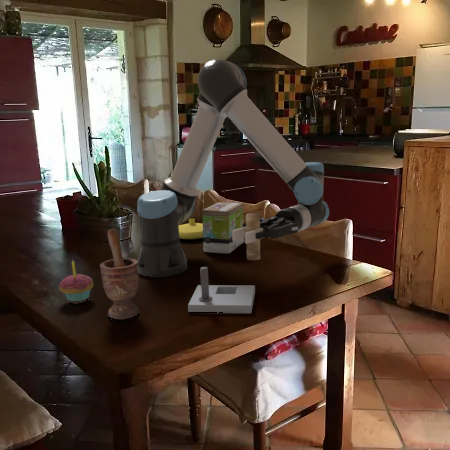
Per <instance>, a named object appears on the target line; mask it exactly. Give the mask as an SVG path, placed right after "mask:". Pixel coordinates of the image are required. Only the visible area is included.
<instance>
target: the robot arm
mask: <svg viewBox="0 0 450 450" xmlns="http://www.w3.org/2000/svg"><path fill="white" fill-rule="evenodd" d="M197 85H198V90H199V94H198V96H197V98H196V100H197V104H198V109H197V111H196V114H195V116H194V118H193V121H192V125H191V127H190V129H189V131H188V134H187V136H186V139H185V141H184V144H183V146H182V149H181V151H180V154H179V156H178V158H177V161H176V163H175V166H174V168H173V171H172V173H171V175H170V176H169V177H167V178H165V179H164V180H163V182H162V184H161V187H160V190H151V191H150V192H145V193H144V194H141V195H139V197H138V199H137V206H136V207H137V208H136V211H137V215H138V216H137V217H138V226H139V235H140V236H139V238H140V249H139V255H138V258H137V261H138V273H139V274H138V275H140V274H141V275H140V276H142V275H143V276H142V277H146V276H149V277H148V278H169V277H173V276H176V275H179V274H182V273H184V272H185V271H186V270H187V269H188V261H187V258H186V255H185V253H184V250H183V247H182V246H181V245H182V244H181V242H180V239H181V238H179V225H183V223H185V222H186V221H189V219H191V218H190V217H191V216H192V215H193V214H194V210H195V206H196V204H195V203H196V200H197V199H198V196H199V192H198V189H197V186H198V183H199V181H200V178H201V176H202V174H203V171H204V169H205V167H206V165H207V163H208V159H209V157H210V155H211V153H212V151H213V148H214V145H215V143H216V141H217V139H218V136H219V133H220V131H221V129H222V127H223V124H224V122H225V119H226V118H228V119H230V120H231V122H232V123H233V125H235V127H236V128H237V129H238V130H239V131H240V132H241V133H242V134H243V135H244V137H245V138H246V139H247V140H248V141H249V142H250V144H251V145H252V146H253V147H254V148H255V149H256V150H257V152H258V153H259V154H260V155H261V156H262V157H263V158H264V160H265V161H266V162H267V163H268V164H269V166H271V167H272V169H273V170H274V171H275V172H276V173H277V174H278V175H279V176H280V178H281V179H282V180H283V181H284V182H285V183H286V184H287V186H288V187H289V188H290V189H291V191H292V192H293V194H294V197H295V198H296V200H297V203H298V204H297V205H293V206H289V207H286V208H284V209H283V208H282V209H280V210H278V211H277V212H276V214H275V215H274V216H271V217H269V218H265V219H264V217H263V216H260V228H259V229H256V230H253V231H249V232H246V222H243V227H242V228H239V229H235V230H232V241H236V240H239V239H242V238H244V244H245V245H247V244H248V243H251V242H254V241H257V240H260V241H261V240H262V239H269V238H270V239H273V240H275V239H278V238H281V237H284V236H285V237H286V236H291V235H293V234H297V233H300V232H301V231H303V230H306V229H309V228H311V227H316V226H318V225H321V224H322V223H324V222H326V221H327V220H328V218H329V216H330V208H329V206H328V203H327V202H325V201H324V186H325V185H324V181H325V180H324V179H325V169H324V168H325V167H324V164H323V163H322V162H316V161H315V162H314V161H311V162H309V161H307V162H305V161H304V160H303V159H302V158H301V156H300V155H299V154H298V153H297V151H295V150H294V148H293V147H292V146H291V145H290V144H289V143H288V142H287V140H286V139H285V138H284V136H282V134H281V133H280V132H279V131H278V130H277V129H276V128H275V126H274V125H273V124H272V122H270V121H269V120H268V118H267V117H266V116H265V115H264V114H263V113H262V112H261V110H260V109H259V108H258V107H257V106H256V105H255V103H254V102H253V101H252V100H251V99H250V98H249V97H248V89H247V78H246V75H245V72H244V71H243V69H242V68H241V67H240V66H238V65H237V64H235V63H233V62H231V61H228V60H225V59H221V58H216V59H211V60H209V61H207V62H206V63H205V64H203V66H201V68H200V71H199V72H198V76H197Z"/></svg>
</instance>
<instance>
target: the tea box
mask: <svg viewBox="0 0 450 450" xmlns="http://www.w3.org/2000/svg"><path fill="white" fill-rule="evenodd" d="M201 216H202V224H203V238H202V245H203V246H202V247H203V252H205V253H215V254H216V253H217V254H227V255H228V254H231V253H232V252H233V251H234V250H236V249H237V248H238V247H239V246H240V245H242V244H243V243H245V238H242V239H239V240H236V241H232V230H235V229H239V228H242V227H243V223H244V203H243V202H223V201H222V202H221V201H220V202H219V201H218V202H216V203H213V204H211V205H210V206H208V207H205V208H203V209H202V215H201Z"/></svg>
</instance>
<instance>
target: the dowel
mask: <svg viewBox="0 0 450 450" xmlns="http://www.w3.org/2000/svg"><path fill="white" fill-rule="evenodd" d="M260 217H261V214H260V213H258V212H248V213H246V214H245V223H246V232H249V231H253V230H256V229H259V228H260ZM260 259H261V239H260V240H257V241H254V242H251V243H248V244H246V260H249V261H258V260H260Z"/></svg>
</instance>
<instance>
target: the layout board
mask: <svg viewBox="0 0 450 450" xmlns="http://www.w3.org/2000/svg"><path fill="white" fill-rule="evenodd" d="M199 269H200V270H199V272H200V284H198V285H197V286H196V288H195V290H194V293H193V294H192V297H191V298H190V300H189V303H188V304H187V309H188V310H187V313H188V312H217V313H216V314H220V313H219V312H223V313H222V314H252V313H253V312H252V311H253V306H254V302H255V295H256V285H246V284H245V285H241V284H240V285H239V284H237V285H234V284H233V285H231V284H230V285H229V284H228V285H227V284H226V285H224V284H223V285H222V284H221V285H220V284H219V285H218V284H217V285H216V284H214V285H213V284H212V285H211V284H209V283H210V282H209V270H208V269H209V268H208V267H207V266H202V267H200V268H199Z"/></svg>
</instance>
